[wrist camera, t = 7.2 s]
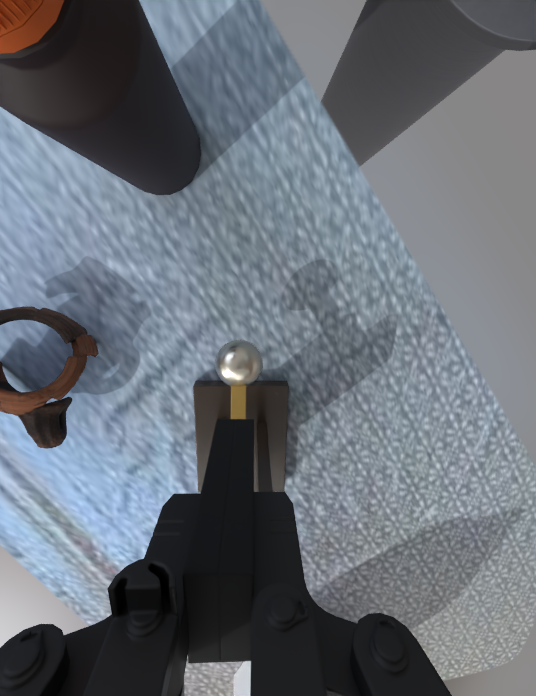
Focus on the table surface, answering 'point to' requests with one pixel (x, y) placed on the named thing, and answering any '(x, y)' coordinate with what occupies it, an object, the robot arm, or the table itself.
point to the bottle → (98, 88)
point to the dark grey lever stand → (269, 427)
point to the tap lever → (238, 372)
